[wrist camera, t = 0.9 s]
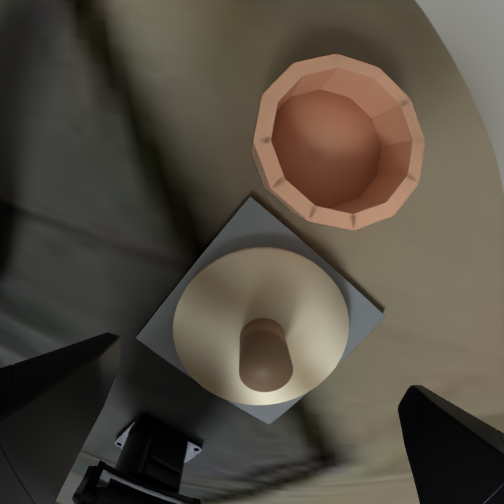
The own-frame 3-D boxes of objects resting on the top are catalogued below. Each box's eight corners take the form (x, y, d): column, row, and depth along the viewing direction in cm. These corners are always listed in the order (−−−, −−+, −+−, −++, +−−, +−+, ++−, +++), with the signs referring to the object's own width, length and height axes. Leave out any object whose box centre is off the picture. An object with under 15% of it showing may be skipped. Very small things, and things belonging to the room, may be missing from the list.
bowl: (329, 244, 20) (353, 263, 15) (223, 154, 19) (217, 144, 14) (407, 148, 19) (447, 142, 14) (312, 59, 18) (331, 27, 13)
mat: (268, 421, 24) (269, 424, 23) (137, 335, 22) (136, 338, 21) (382, 313, 22) (384, 315, 21) (250, 196, 20) (250, 196, 19)
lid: (268, 418, 23) (273, 462, 18) (144, 337, 21) (122, 375, 16) (376, 317, 21) (405, 349, 16) (251, 207, 19) (253, 216, 14)
